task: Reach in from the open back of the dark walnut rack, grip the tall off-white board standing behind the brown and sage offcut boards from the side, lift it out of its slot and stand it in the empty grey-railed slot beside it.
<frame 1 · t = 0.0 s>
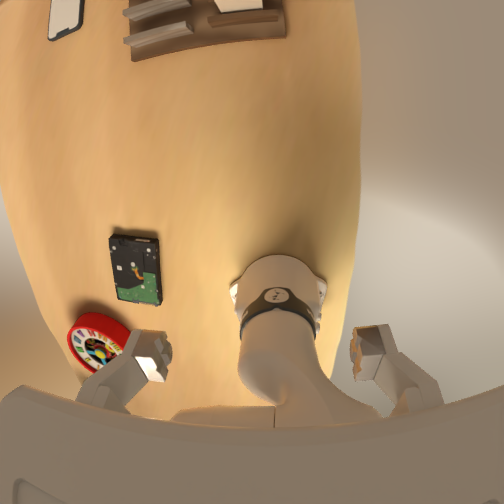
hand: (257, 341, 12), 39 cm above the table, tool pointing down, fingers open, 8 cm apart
toy clock: (108, 340, 70), on the table
disk drive: (139, 267, 58), on the table
tall sheet: (243, 9, 34), point 1 cm above the table, touching rack
rack: (203, 11, 35), on the table
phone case: (69, 4, 33), on the table
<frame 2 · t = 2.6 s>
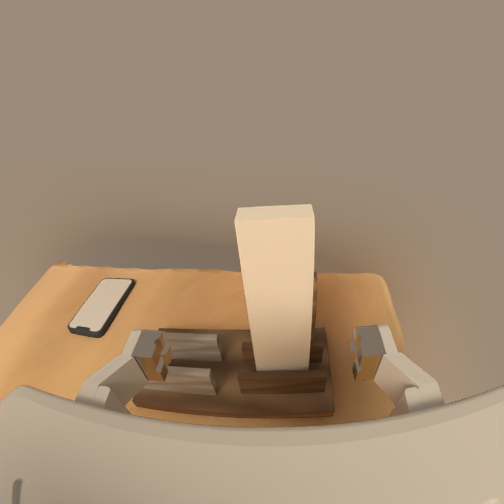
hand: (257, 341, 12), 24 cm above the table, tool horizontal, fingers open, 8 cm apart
tall sheet: (283, 375, 35), point 1 cm above the table, touching rack
rack: (234, 373, 37), on the table
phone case: (104, 308, 52), on the table
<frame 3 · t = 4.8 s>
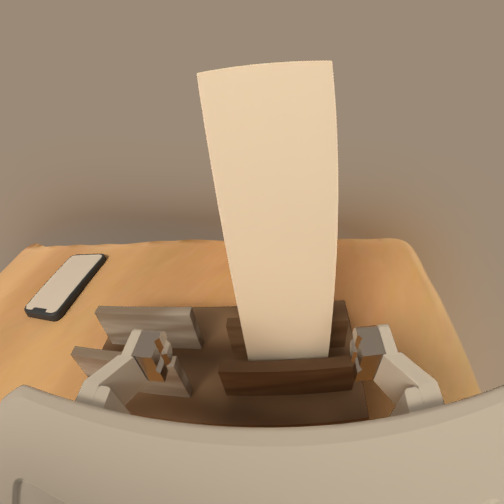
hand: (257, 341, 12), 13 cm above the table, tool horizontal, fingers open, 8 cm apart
tall sheet: (288, 367, 24), point 1 cm above the table, touching rack
rack: (218, 366, 26), on the table
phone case: (68, 288, 41), on the table
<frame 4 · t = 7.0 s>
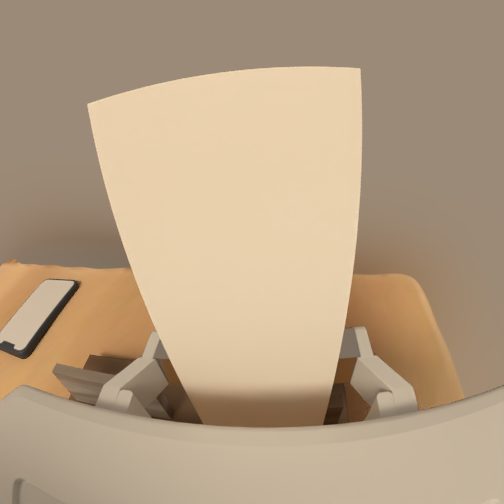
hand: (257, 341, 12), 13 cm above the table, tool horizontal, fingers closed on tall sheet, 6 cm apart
tall sheet: (269, 450, 18), point 1 cm above the table, touching gripper, rack
rack: (191, 437, 20), on the table
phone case: (39, 319, 34), on the table
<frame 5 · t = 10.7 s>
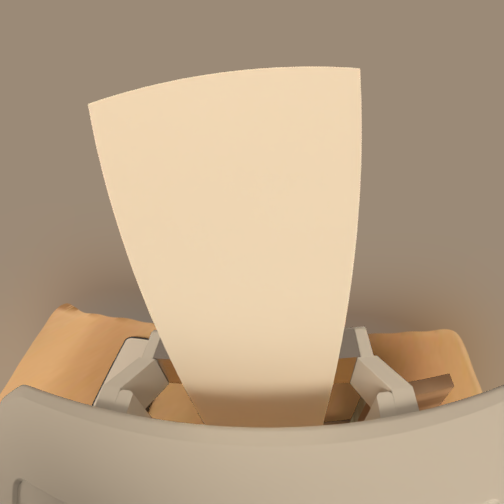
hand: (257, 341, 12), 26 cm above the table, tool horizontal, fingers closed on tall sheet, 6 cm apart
tall sheet: (270, 449, 18), point 14 cm above the table, touching gripper
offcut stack: (380, 432, 28), point 1 cm above the table, touching rack
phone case: (134, 381, 40), on the table
when the fingers open (15 cm above the table, at t = 14.3 s): tall sheet drops 1 cm, resting on rack.
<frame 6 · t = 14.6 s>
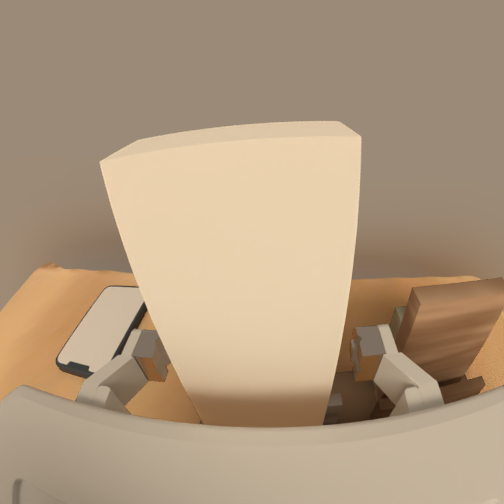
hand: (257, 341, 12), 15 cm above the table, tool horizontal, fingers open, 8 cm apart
tall sheet: (270, 455, 19), point 1 cm above the table, touching rack
rack: (349, 443, 20), on the table
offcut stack: (414, 384, 22), point 1 cm above the table, touching rack
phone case: (109, 332, 34), on the table
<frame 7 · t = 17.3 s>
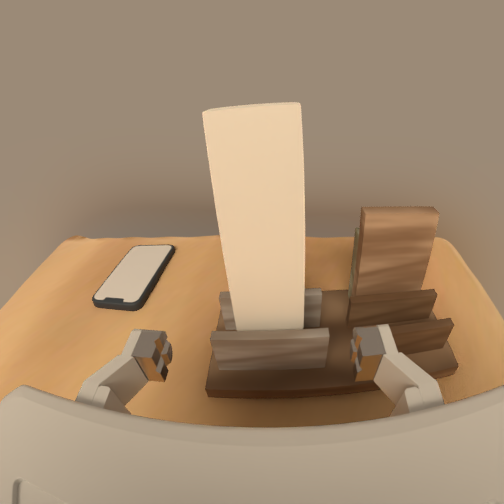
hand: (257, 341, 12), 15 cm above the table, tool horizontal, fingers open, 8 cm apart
tall sheet: (271, 344, 29), point 1 cm above the table, touching rack
rack: (333, 341, 30), on the table
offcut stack: (382, 300, 32), point 1 cm above the table, touching rack
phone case: (137, 278, 44), on the table
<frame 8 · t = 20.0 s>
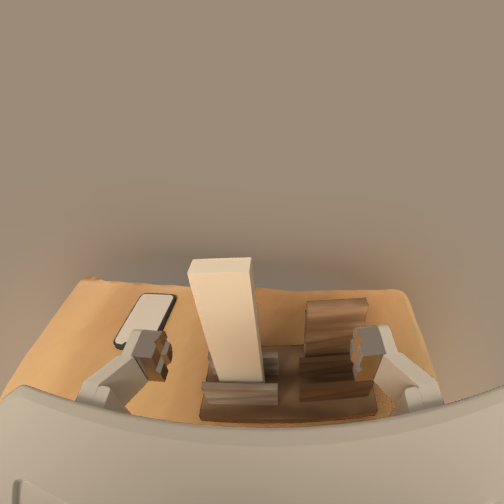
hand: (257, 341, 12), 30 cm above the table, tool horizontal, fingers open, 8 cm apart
tall sheet: (244, 386, 41), point 1 cm above the table, touching rack
rack: (288, 384, 42), on the table
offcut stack: (329, 355, 44), point 1 cm above the table, touching rack
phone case: (147, 324, 56), on the table
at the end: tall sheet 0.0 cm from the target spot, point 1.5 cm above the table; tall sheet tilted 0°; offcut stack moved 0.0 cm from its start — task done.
